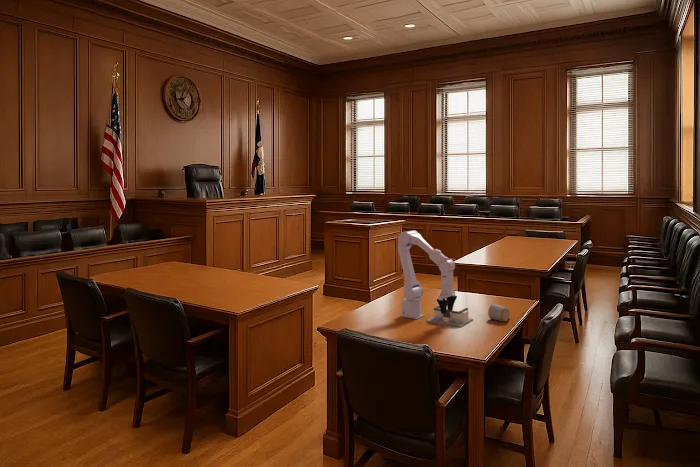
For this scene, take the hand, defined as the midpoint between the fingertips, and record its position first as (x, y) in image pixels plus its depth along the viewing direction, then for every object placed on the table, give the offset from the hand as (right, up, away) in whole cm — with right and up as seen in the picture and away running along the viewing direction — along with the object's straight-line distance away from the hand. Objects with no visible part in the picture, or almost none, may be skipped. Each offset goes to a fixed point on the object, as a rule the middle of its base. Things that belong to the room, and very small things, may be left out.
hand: (446, 311), depth 249 cm
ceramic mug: (+28, -5, +5) cm, 28 cm away
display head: (+2, -5, +3) cm, 6 cm away
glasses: (+3, -4, +4) cm, 6 cm away
